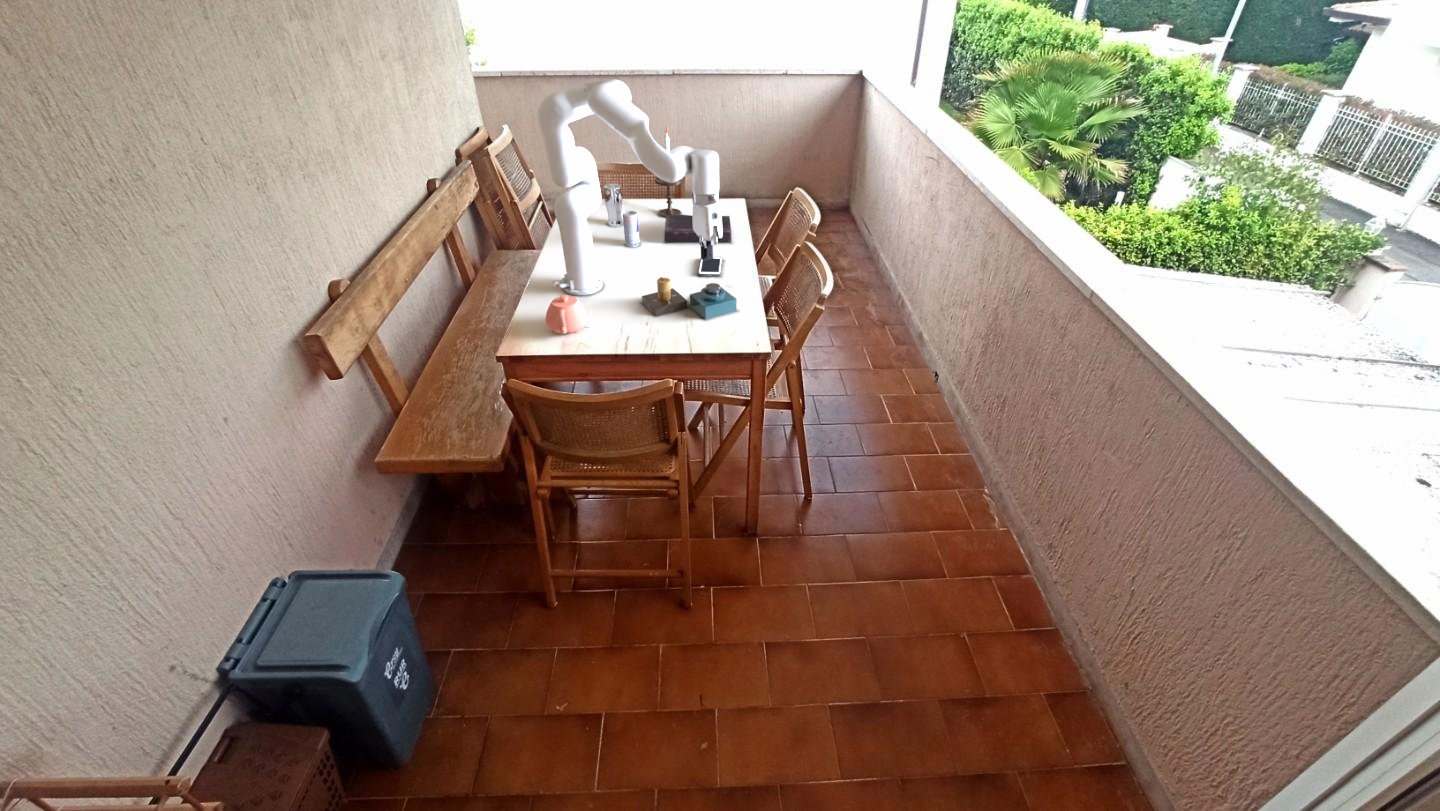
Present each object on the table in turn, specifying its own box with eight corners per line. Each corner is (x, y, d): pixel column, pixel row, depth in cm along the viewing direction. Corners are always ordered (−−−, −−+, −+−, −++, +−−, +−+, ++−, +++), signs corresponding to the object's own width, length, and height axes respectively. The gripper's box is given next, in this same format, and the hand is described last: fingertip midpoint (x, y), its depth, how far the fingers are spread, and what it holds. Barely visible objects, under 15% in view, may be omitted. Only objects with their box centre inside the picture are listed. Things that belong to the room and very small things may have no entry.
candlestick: (672, 207, 274) (669, 120, 253) (688, 214, 267) (685, 125, 246) (651, 213, 268) (646, 124, 248) (666, 220, 261) (662, 129, 241)
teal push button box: (705, 319, 195) (705, 301, 191) (689, 306, 202) (689, 288, 198) (736, 311, 199) (736, 293, 196) (719, 298, 206) (720, 281, 202)
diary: (731, 244, 242) (731, 231, 239) (664, 244, 241) (664, 231, 238) (729, 226, 257) (729, 213, 254) (666, 226, 256) (666, 214, 254)
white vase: (604, 222, 260) (600, 184, 251) (621, 219, 262) (617, 182, 253) (609, 228, 255) (606, 190, 246) (626, 225, 257) (623, 187, 248)
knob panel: (656, 316, 196) (655, 308, 195) (642, 303, 203) (641, 295, 202) (687, 307, 201) (687, 300, 199) (673, 295, 208) (672, 287, 206)
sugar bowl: (591, 317, 195) (587, 286, 189) (585, 340, 184) (581, 309, 178) (551, 317, 195) (546, 287, 189) (542, 341, 184) (536, 309, 178)
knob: (673, 299, 200) (672, 280, 196) (661, 302, 198) (660, 283, 194) (667, 294, 203) (666, 275, 199) (655, 297, 201) (654, 278, 197)
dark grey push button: (710, 296, 195) (710, 290, 193) (703, 291, 198) (703, 285, 196) (722, 293, 196) (722, 287, 195) (715, 287, 199) (715, 281, 198)
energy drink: (640, 242, 243) (638, 211, 236) (638, 247, 239) (635, 216, 232) (627, 241, 244) (624, 210, 237) (623, 247, 239) (621, 215, 232)
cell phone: (698, 276, 219) (698, 273, 218) (701, 258, 231) (701, 256, 230) (720, 277, 218) (720, 274, 218) (722, 259, 230) (722, 256, 230)
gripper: (731, 202, 176) (730, 265, 187) (704, 187, 187) (705, 248, 197) (707, 207, 173) (708, 270, 184) (681, 192, 184) (684, 253, 194)
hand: (706, 258), depth 191 cm, fingers closed
